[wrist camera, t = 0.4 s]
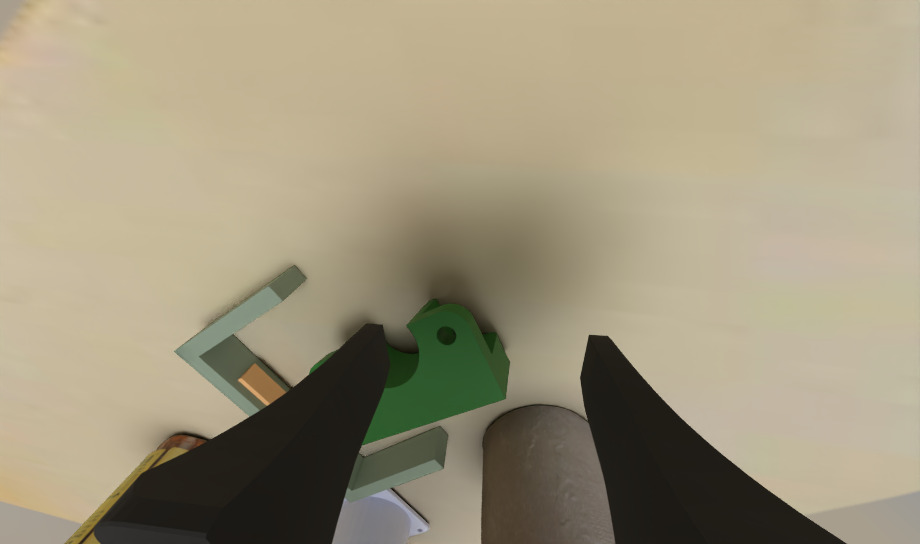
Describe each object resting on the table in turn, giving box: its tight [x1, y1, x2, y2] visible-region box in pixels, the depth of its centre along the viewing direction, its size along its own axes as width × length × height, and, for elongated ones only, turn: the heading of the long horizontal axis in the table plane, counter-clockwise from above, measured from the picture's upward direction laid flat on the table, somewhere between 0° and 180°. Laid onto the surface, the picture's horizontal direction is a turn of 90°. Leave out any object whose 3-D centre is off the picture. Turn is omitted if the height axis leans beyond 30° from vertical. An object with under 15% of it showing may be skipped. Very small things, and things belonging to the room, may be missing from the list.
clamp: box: [309, 298, 510, 445], centre depth 23 cm, size 12×6×9 cm, turn 112°
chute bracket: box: [174, 265, 448, 503], centre depth 26 cm, size 10×18×3 cm, turn 34°
